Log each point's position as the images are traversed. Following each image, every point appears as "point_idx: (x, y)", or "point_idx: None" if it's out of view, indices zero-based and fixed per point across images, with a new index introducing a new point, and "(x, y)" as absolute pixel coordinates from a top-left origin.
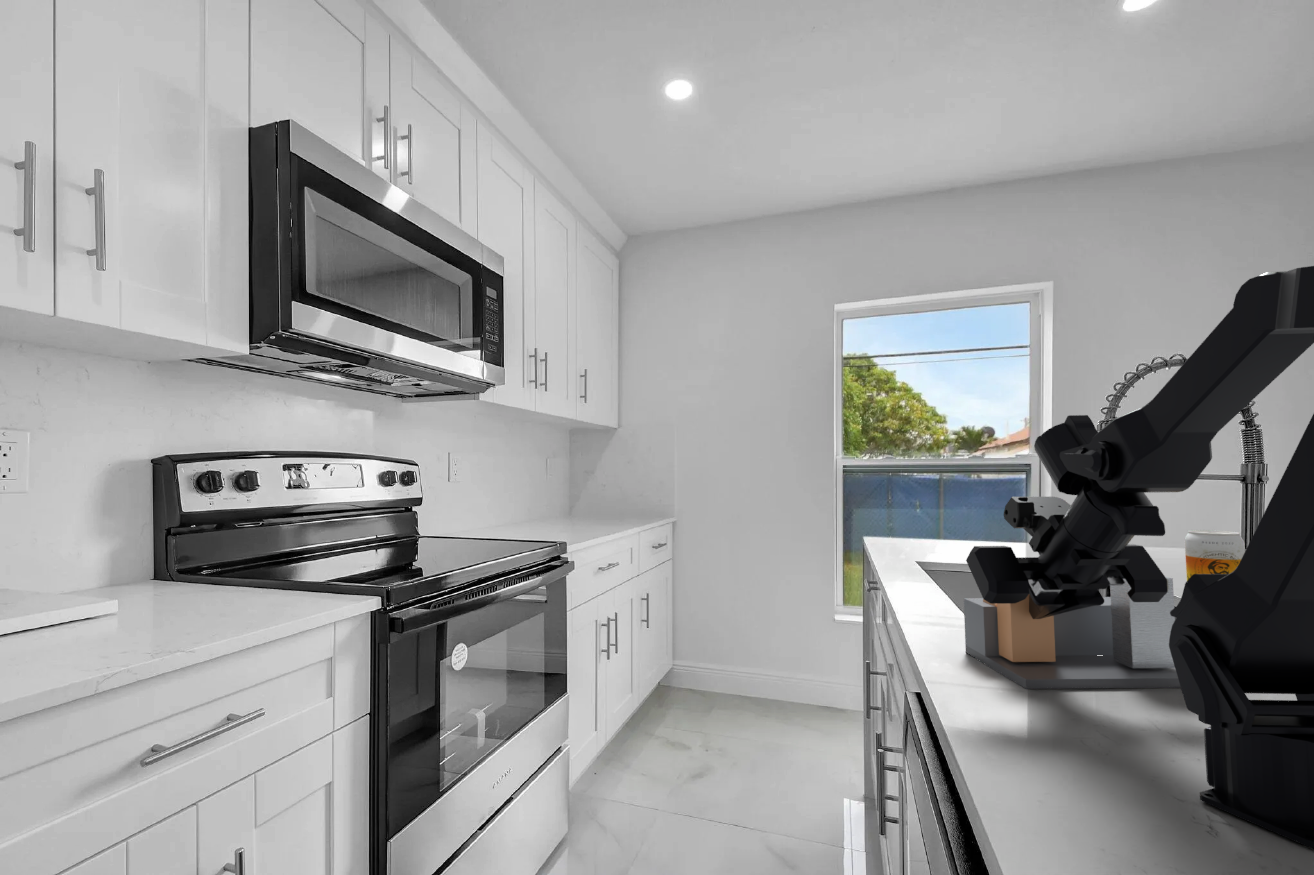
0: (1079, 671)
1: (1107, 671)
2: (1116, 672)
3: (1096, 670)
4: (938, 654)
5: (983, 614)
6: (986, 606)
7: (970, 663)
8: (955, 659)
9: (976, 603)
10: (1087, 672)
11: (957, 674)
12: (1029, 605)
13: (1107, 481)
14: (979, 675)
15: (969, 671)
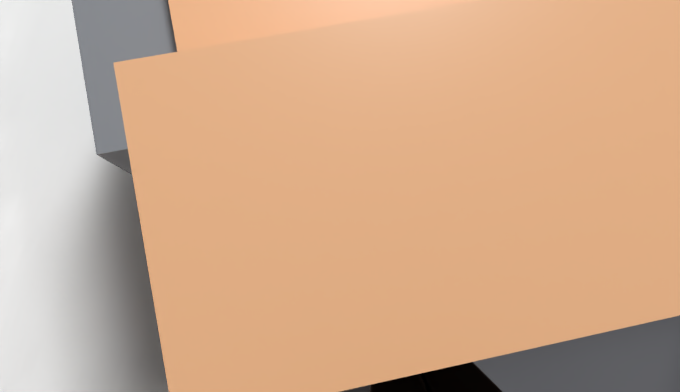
0: (517, 374)
1: (633, 355)
2: (664, 360)
3: (593, 348)
4: (15, 69)
5: (115, 163)
6: (124, 144)
7: (122, 192)
8: (72, 139)
9: (81, 43)
10: (545, 384)
11: (9, 375)
12: (371, 388)
13: None
14: (105, 371)
15: (79, 318)
